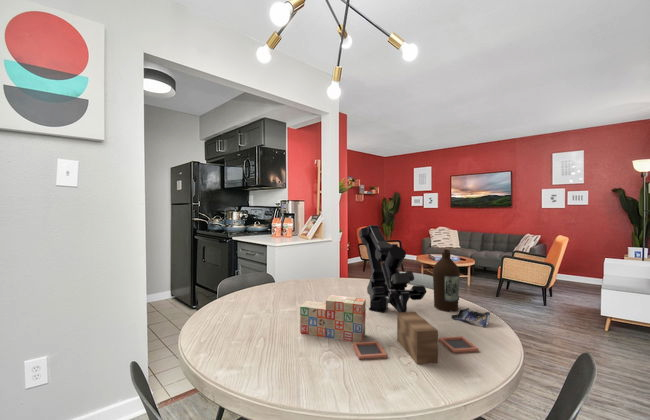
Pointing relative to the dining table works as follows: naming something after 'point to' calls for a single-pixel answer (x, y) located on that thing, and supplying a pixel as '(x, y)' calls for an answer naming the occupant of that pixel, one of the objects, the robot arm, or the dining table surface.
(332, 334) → the stack of blocks
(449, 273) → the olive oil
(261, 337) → the dining table surface
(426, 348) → the walnut brick
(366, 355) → the tile
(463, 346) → the tile
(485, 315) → the snack package
